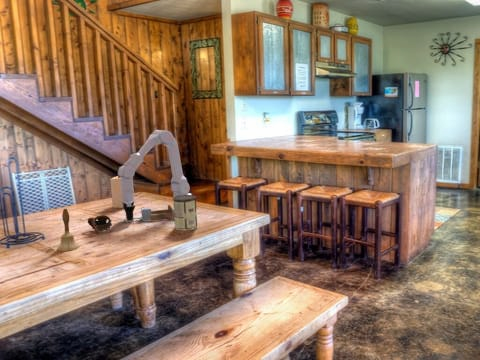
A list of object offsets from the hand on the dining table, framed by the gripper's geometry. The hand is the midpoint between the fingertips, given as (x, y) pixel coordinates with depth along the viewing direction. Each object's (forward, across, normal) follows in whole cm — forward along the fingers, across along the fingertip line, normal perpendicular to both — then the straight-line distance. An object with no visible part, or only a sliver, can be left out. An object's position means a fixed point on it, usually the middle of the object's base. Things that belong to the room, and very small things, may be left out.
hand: (129, 218), depth 213 cm
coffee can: (+2, +22, +24) cm, 32 cm away
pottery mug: (+2, +12, -14) cm, 18 cm away
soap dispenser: (+2, -37, -1) cm, 37 cm away
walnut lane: (+1, 0, +15) cm, 15 cm away
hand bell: (+2, +33, -25) cm, 42 cm away
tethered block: (+1, 0, +4) cm, 4 cm away
